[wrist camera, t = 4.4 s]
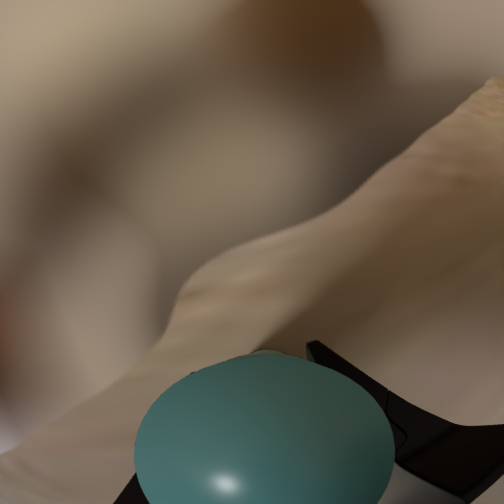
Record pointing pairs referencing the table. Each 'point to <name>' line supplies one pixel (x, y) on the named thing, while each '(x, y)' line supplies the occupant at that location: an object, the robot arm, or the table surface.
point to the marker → (264, 437)
